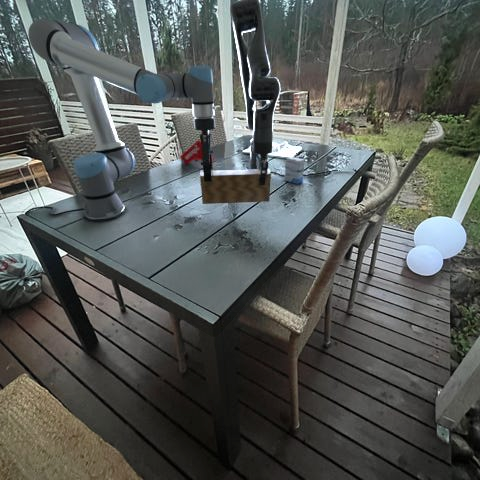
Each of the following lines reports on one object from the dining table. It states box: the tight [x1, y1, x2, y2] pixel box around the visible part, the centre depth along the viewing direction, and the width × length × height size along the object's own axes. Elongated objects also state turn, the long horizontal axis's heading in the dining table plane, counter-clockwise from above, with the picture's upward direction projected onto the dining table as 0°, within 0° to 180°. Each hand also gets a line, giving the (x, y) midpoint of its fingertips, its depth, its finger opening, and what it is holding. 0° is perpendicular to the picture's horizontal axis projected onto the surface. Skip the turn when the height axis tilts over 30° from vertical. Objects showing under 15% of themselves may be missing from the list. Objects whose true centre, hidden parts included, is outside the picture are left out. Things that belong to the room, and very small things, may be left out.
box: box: [199, 168, 272, 205], centre depth 111 cm, size 28×6×12 cm, turn 94°
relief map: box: [242, 141, 304, 160], centre depth 192 cm, size 27×35×5 cm
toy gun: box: [179, 139, 215, 165], centre depth 167 cm, size 18×4×15 cm
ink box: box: [284, 156, 306, 185], centre depth 140 cm, size 8×5×12 cm, turn 47°
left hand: (208, 175), depth 108 cm, fingers open, 13 cm apart
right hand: (261, 181), depth 111 cm, fingers closed on box, 6 cm apart
